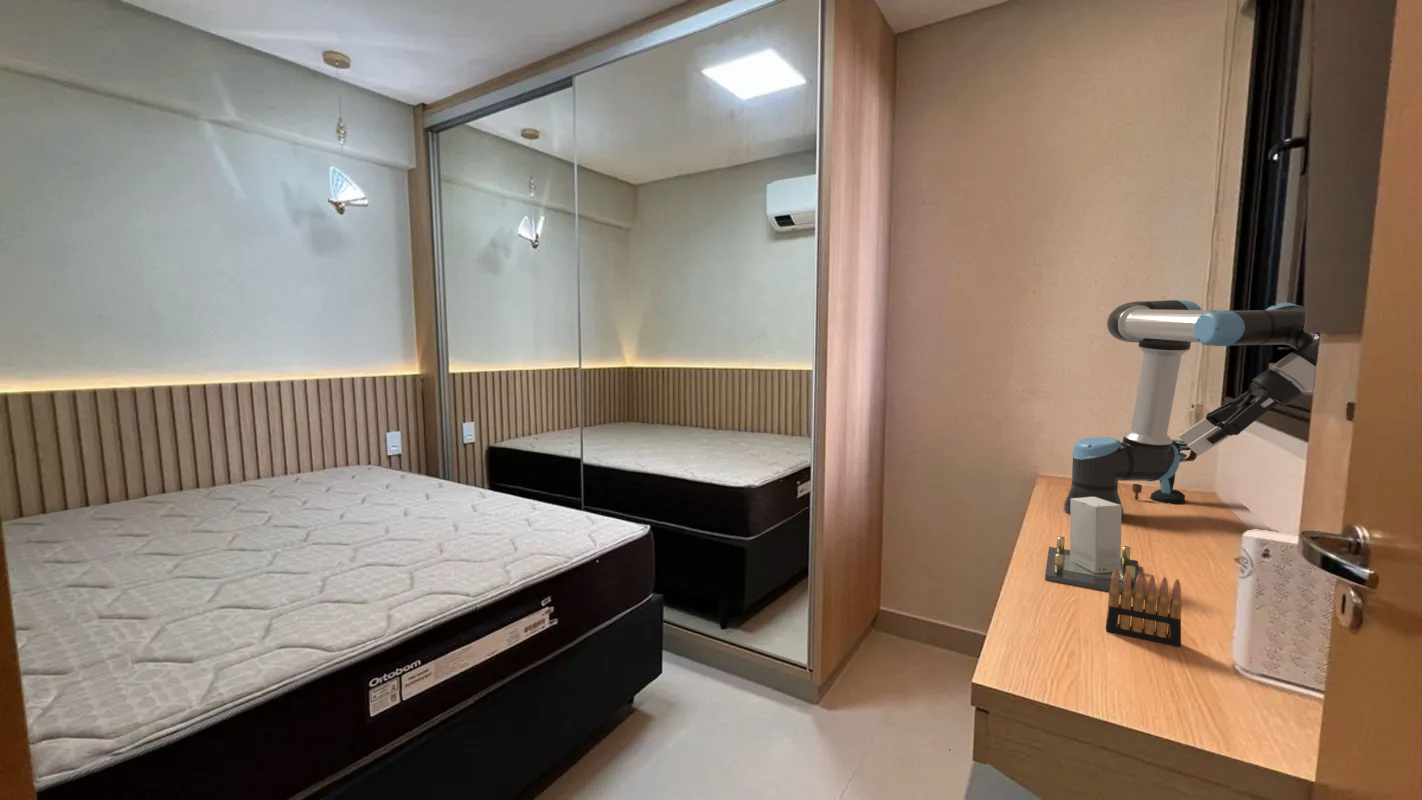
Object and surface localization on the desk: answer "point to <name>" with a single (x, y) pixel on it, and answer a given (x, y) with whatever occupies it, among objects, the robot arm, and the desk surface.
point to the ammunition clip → (1145, 611)
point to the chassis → (1075, 574)
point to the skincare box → (1095, 534)
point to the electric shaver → (1173, 479)
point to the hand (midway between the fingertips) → (1187, 445)
